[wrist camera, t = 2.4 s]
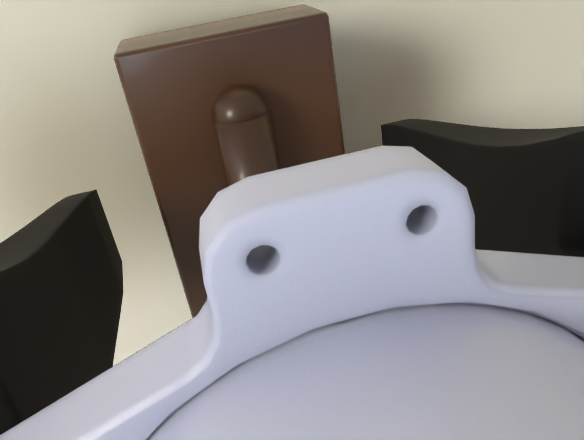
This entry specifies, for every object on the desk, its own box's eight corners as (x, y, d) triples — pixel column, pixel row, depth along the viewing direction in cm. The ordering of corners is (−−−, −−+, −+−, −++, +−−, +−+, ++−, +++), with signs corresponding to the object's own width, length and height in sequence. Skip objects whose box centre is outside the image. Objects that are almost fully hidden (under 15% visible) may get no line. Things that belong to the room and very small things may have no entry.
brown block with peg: (123, 29, 14) (108, 63, 10) (290, -3, 15) (342, 16, 10) (197, 286, 18) (209, 388, 14) (328, 253, 18) (377, 342, 14)
